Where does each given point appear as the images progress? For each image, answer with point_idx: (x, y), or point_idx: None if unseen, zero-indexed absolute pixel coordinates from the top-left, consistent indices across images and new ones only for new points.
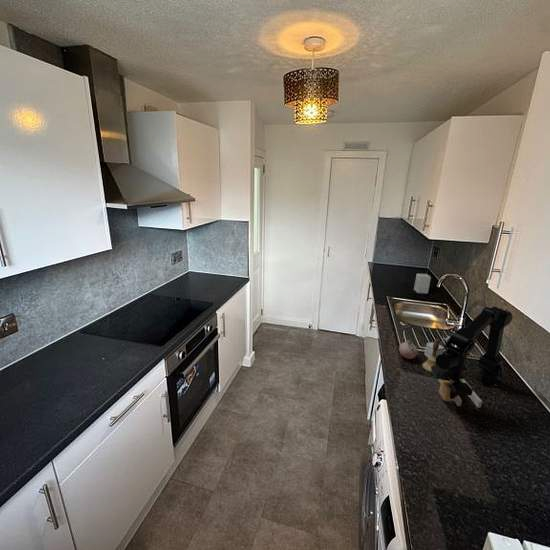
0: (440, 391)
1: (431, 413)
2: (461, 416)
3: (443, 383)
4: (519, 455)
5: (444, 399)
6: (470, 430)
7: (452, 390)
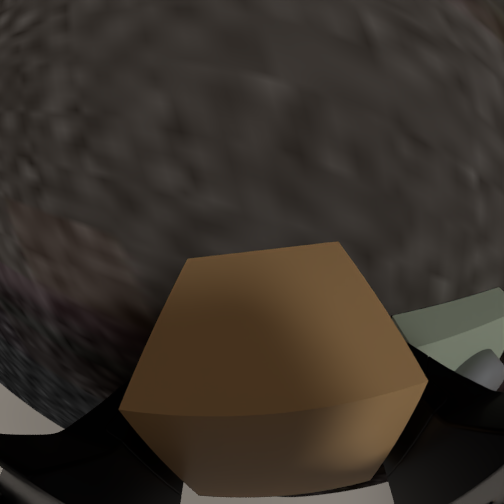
0: (311, 259)
1: (103, 114)
2: (150, 325)
3: (318, 390)
4: (53, 402)
5: (186, 263)
6: (62, 321)
7: (60, 434)
